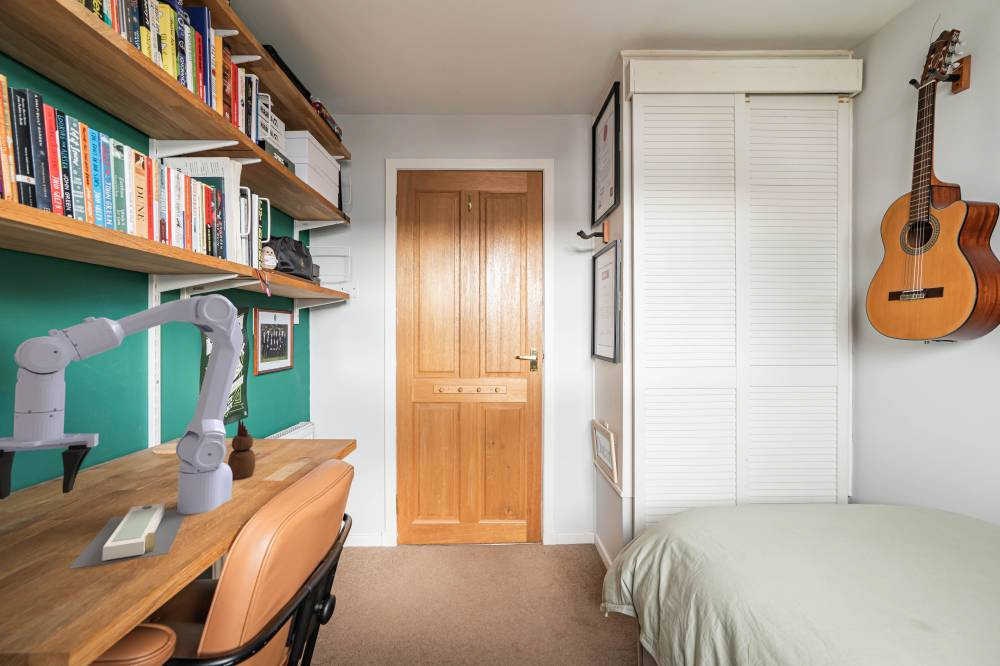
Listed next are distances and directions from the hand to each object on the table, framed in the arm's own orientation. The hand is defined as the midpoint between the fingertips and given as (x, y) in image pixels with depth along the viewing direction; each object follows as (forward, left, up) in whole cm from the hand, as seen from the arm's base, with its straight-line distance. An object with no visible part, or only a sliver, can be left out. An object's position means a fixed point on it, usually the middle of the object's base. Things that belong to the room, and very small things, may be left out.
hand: (36, 494), depth 73 cm
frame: (-6, +12, -8) cm, 16 cm away
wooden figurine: (-40, +6, -10) cm, 42 cm away
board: (-7, +12, -9) cm, 16 cm away
